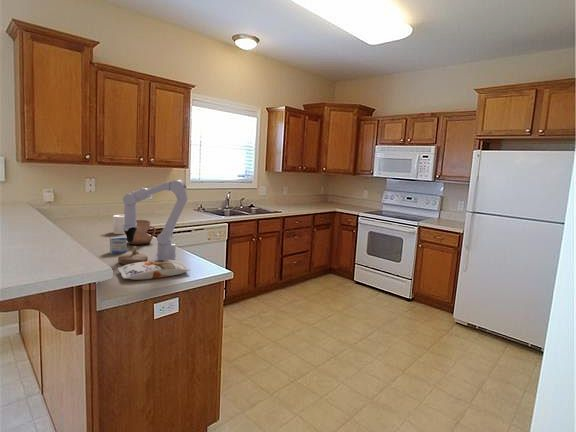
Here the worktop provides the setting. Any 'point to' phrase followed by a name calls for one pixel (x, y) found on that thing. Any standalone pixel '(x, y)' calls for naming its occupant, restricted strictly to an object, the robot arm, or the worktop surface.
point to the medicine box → (117, 245)
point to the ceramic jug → (142, 233)
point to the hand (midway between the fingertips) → (130, 241)
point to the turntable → (132, 257)
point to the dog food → (152, 269)
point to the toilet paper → (118, 224)
